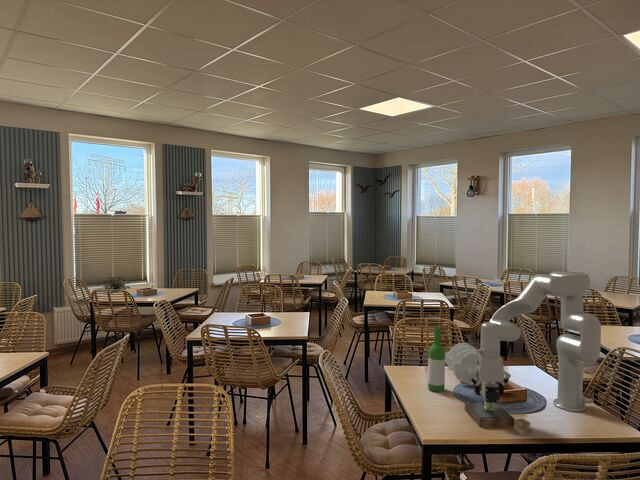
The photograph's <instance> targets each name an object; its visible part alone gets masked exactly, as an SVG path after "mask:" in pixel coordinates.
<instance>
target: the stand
mask: <svg viewBox="0 0 640 480" xmlns="http://www.w3.org/2000/svg"><path fill="white" fill-rule="evenodd" d="M494 404H495V405H494V412H493V411H486V410H485V408H484V406H485V402H466V403H465V402H464V411H465V412H466V414H467V415H468V416H469V417H470V418H471V419H472V420H473V422H474V423H476V424H477V426H478V427H480V428H487V427H488V428H489V427H490V428H493V427H495V428H496V427H499V428H500V427H501V428H502V427H503V428H505V427H506V428H507V427H509V428H510V427H514V420H515V418H514V416H512V415H511V414H510V413H508V411H506V410H505V409H504V408H503V406H501V405H500V404H499V402H498V403H494Z"/></svg>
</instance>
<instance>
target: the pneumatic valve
mask: <svg viewBox="0 0 640 480" xmlns="http://www.w3.org/2000/svg"><path fill="white" fill-rule="evenodd" d="M498 384H499V383H496V382H481V395H482V397H483V400H484V402H483V403H485V406H484V408H485V410H486V411H493V412H494V405H495V404H494V403H498V404H499V401H500V396H501V395H500V393H499V391H498V387H499V385H498Z"/></svg>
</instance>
